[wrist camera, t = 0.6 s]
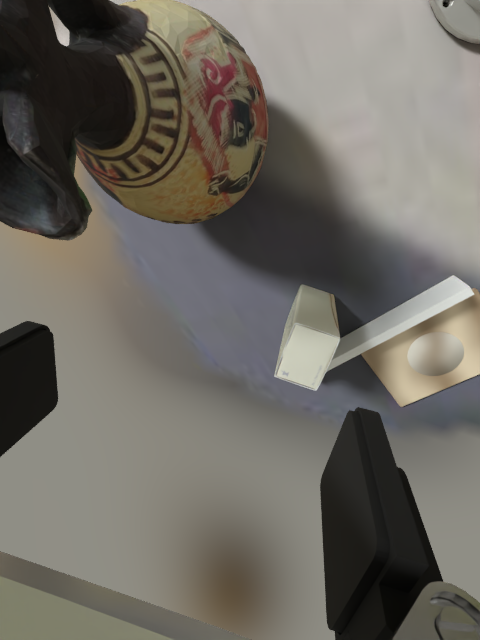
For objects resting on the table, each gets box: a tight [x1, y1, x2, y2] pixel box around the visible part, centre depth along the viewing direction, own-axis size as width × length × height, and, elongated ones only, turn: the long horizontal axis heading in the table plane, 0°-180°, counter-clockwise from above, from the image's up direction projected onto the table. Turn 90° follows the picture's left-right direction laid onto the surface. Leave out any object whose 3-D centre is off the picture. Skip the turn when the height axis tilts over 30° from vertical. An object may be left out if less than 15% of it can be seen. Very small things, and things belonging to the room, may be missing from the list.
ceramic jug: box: [0, 0, 269, 240], centre depth 21 cm, size 17×15×30 cm
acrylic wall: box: [326, 275, 474, 372], centre depth 37 cm, size 20×1×4 cm, turn 130°
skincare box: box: [275, 285, 340, 390], centre depth 34 cm, size 6×4×12 cm
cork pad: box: [361, 288, 480, 407], centre depth 38 cm, size 14×10×1 cm
